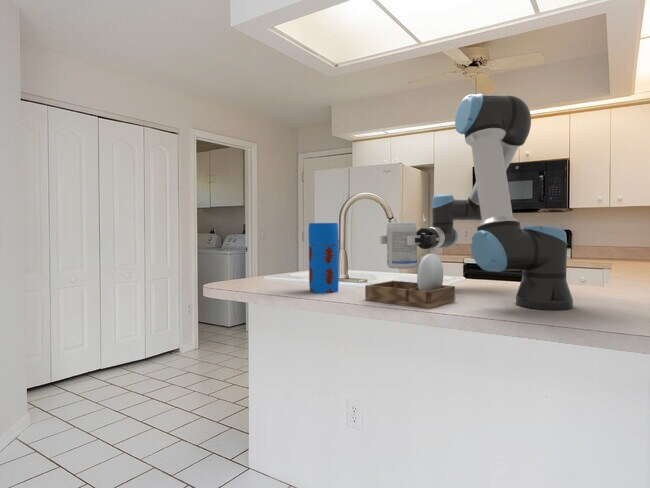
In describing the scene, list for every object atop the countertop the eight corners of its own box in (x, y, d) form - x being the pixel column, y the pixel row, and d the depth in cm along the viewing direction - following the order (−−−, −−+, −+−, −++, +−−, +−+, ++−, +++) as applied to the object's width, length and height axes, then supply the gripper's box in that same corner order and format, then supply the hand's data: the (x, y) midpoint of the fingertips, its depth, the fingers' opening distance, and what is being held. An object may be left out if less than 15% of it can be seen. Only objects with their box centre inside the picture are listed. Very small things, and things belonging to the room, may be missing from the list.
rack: (454, 301, 140) (454, 286, 140) (429, 308, 129) (429, 292, 128) (393, 293, 156) (393, 280, 156) (365, 299, 144) (365, 285, 144)
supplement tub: (423, 267, 144) (423, 222, 143) (401, 269, 138) (401, 222, 138) (402, 265, 152) (402, 222, 151) (380, 267, 146) (380, 222, 146)
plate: (443, 296, 142) (443, 252, 141) (420, 302, 132) (420, 255, 131) (439, 296, 143) (439, 252, 142) (417, 302, 132) (417, 254, 132)
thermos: (316, 294, 157) (315, 223, 156) (304, 290, 167) (304, 223, 166) (343, 292, 162) (343, 222, 161) (331, 288, 171) (330, 223, 170)
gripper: (459, 249, 151) (425, 253, 134) (402, 247, 166) (366, 250, 149) (459, 227, 150) (425, 228, 134) (402, 227, 165) (366, 228, 149)
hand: (394, 240), depth 141 cm, fingers closed on supplement tub, 9 cm apart
